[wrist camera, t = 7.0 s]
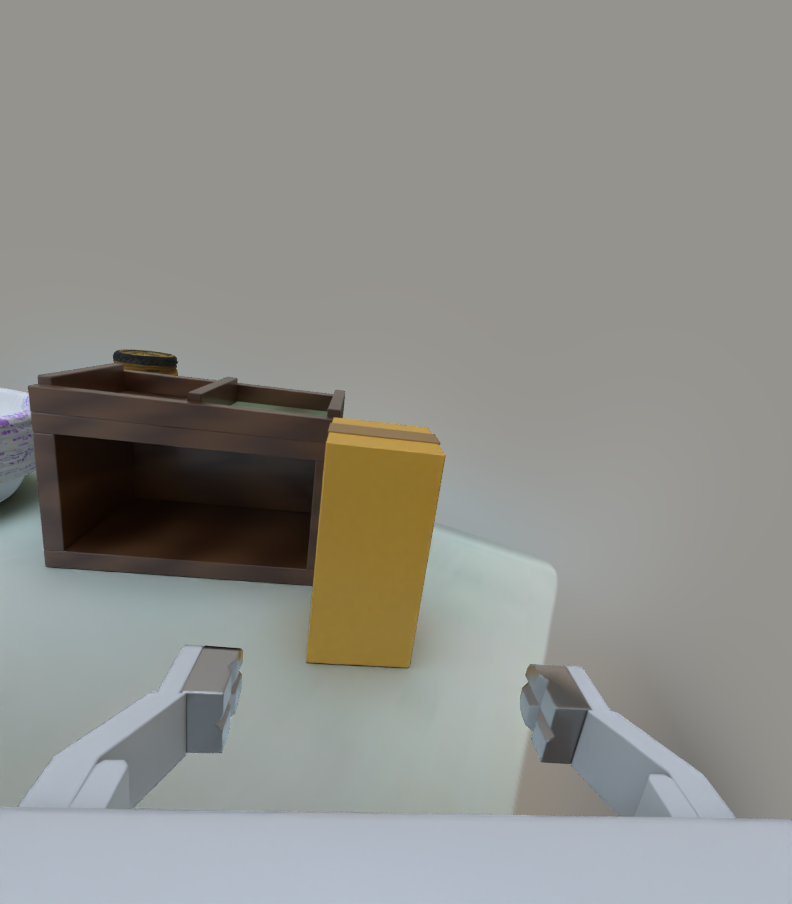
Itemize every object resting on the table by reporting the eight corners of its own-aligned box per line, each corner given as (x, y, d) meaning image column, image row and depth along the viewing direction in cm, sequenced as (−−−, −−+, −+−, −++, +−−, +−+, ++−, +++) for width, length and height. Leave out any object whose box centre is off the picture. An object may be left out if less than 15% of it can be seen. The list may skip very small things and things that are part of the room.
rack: (45, 566, 28) (26, 376, 24) (124, 506, 37) (118, 362, 33) (322, 586, 29) (339, 412, 26) (332, 524, 39) (345, 389, 35)
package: (304, 663, 23) (324, 440, 19) (315, 599, 28) (332, 415, 25) (410, 668, 23) (447, 453, 20) (401, 605, 29) (429, 426, 25)
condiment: (172, 459, 49) (171, 350, 46) (204, 484, 43) (206, 362, 40) (95, 468, 44) (88, 345, 40) (120, 497, 38) (114, 358, 35)
